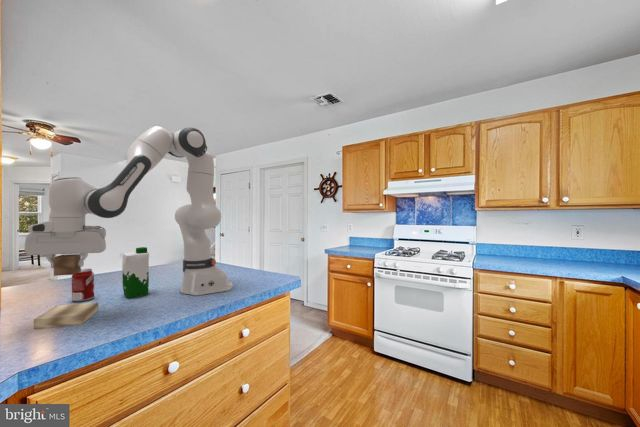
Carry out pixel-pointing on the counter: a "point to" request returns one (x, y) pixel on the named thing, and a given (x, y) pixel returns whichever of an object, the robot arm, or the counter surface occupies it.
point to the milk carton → (135, 273)
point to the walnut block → (66, 264)
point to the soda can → (83, 285)
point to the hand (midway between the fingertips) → (67, 267)
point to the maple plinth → (66, 315)
